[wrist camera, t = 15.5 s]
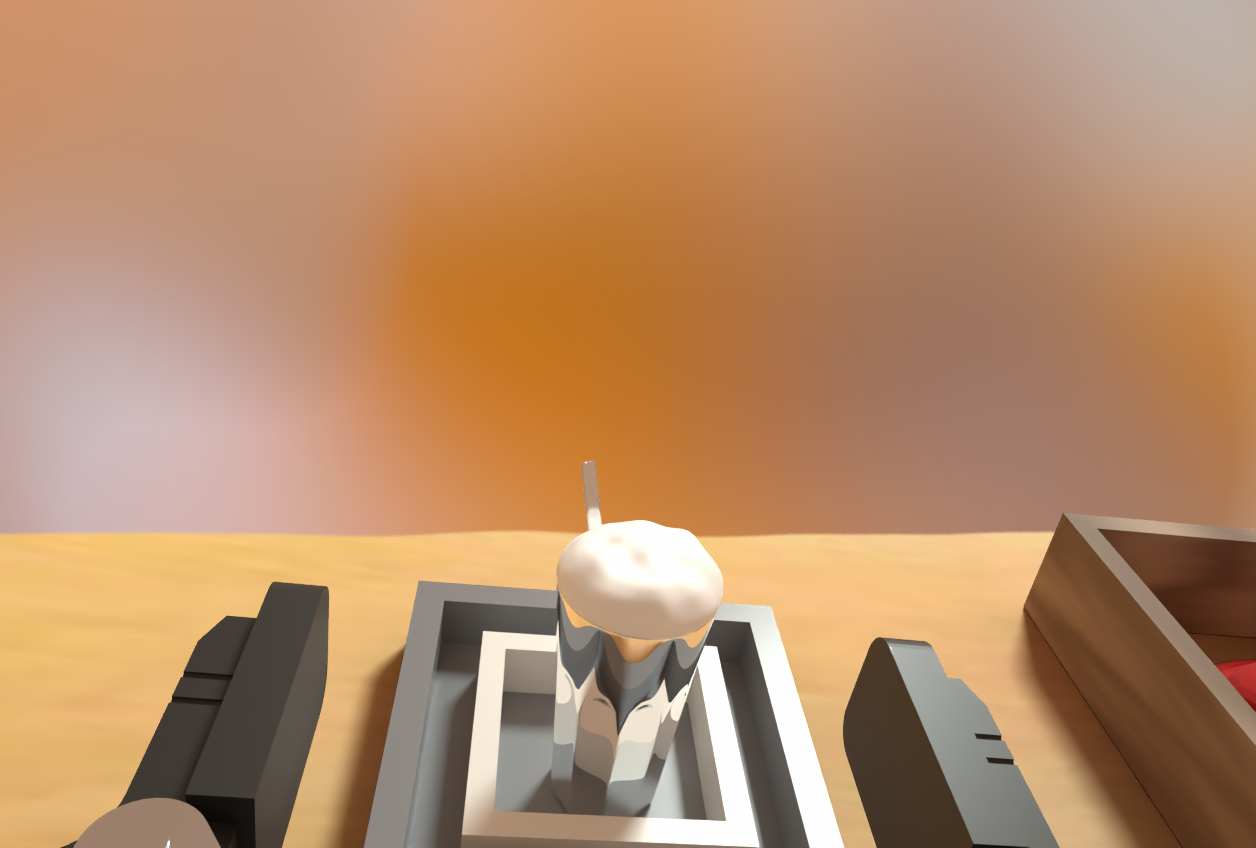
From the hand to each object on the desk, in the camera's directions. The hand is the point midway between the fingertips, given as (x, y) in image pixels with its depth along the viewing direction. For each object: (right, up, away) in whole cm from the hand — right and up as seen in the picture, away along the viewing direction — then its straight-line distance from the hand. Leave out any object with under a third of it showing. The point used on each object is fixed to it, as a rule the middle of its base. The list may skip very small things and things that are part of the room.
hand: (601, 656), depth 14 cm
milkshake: (-1, -8, +16) cm, 18 cm away
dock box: (-1, -8, +17) cm, 18 cm away
